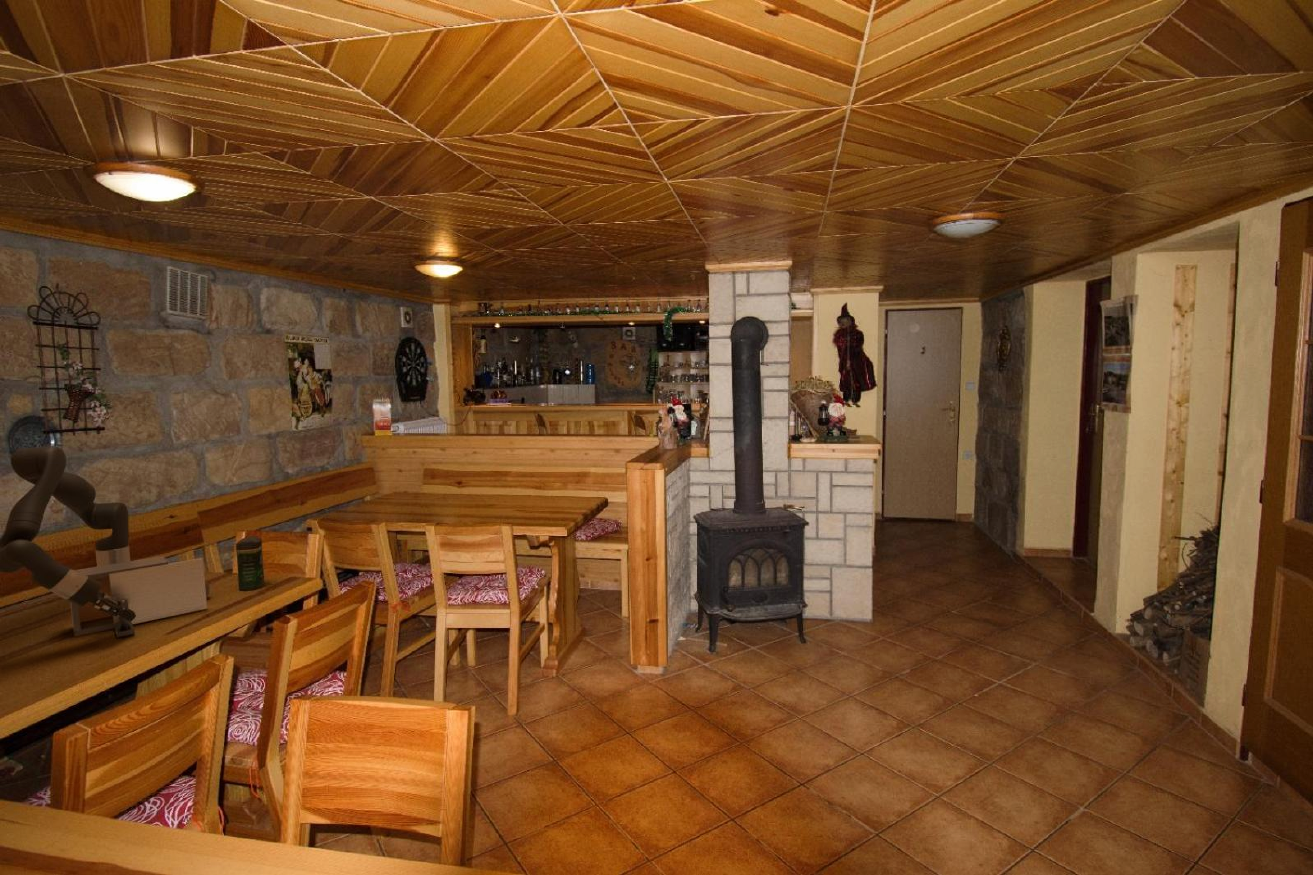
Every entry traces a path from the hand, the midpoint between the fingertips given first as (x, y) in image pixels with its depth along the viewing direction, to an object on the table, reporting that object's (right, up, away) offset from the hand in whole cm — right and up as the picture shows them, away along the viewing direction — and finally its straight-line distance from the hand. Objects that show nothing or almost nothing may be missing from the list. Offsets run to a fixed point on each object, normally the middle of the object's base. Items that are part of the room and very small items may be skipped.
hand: (132, 616), depth 199 cm
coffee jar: (+9, -1, +44) cm, 45 cm away
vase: (-1, -3, +30) cm, 30 cm away
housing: (-11, -4, +11) cm, 16 cm away
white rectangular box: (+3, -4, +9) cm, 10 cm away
